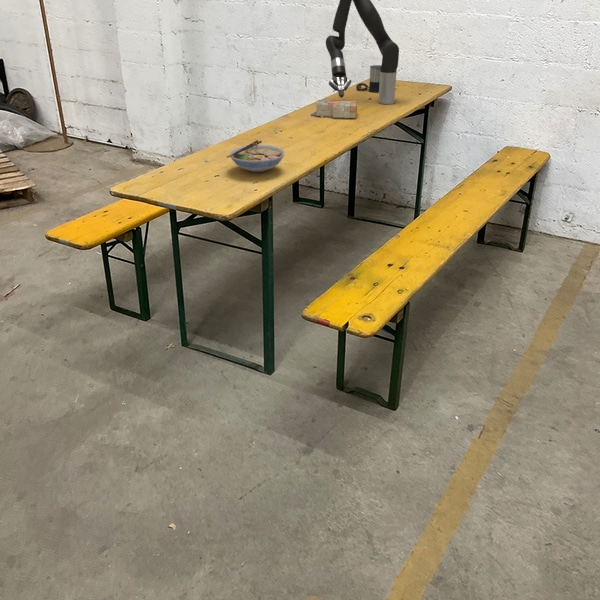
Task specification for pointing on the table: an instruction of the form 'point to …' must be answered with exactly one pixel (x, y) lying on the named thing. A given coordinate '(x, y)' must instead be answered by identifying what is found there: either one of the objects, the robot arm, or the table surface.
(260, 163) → the ramen bowl
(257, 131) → the table surface
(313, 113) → the charcoal rubber mat
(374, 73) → the milk frother
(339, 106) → the stack of blocks
